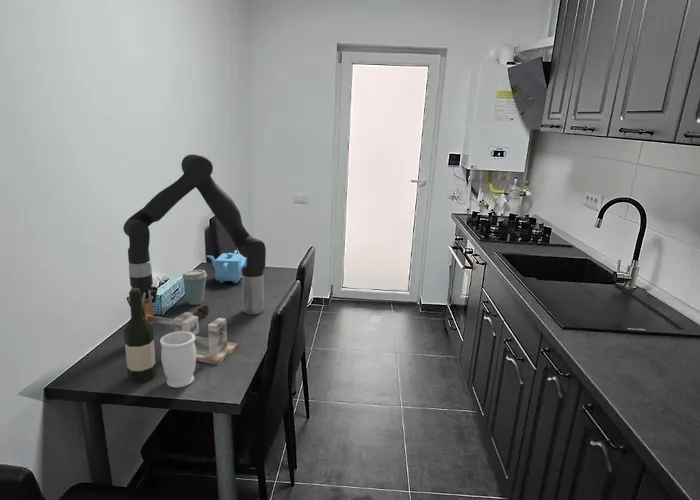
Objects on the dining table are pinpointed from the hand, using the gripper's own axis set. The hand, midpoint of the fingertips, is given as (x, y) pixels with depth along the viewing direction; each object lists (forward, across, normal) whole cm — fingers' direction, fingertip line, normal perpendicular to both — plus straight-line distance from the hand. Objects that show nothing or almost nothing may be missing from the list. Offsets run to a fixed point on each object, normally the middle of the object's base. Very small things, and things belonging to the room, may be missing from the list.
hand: (144, 317), depth 172 cm
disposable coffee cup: (+9, +39, +6) cm, 40 cm away
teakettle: (+10, +74, +9) cm, 75 cm away
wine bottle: (+9, -22, -17) cm, 29 cm away
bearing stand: (+9, 0, -24) cm, 26 cm away
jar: (+10, -20, -30) cm, 37 cm away
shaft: (+3, 0, -9) cm, 10 cm away
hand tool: (+10, +21, -6) cm, 24 cm away
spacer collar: (+4, 0, -20) cm, 20 cm away
